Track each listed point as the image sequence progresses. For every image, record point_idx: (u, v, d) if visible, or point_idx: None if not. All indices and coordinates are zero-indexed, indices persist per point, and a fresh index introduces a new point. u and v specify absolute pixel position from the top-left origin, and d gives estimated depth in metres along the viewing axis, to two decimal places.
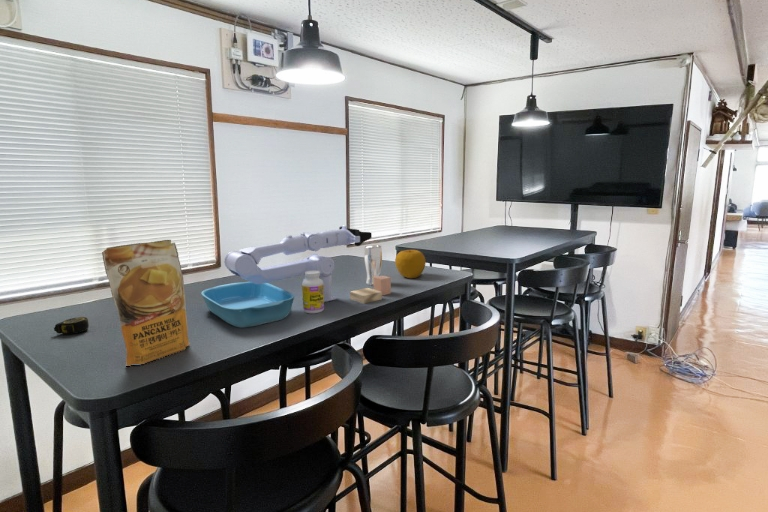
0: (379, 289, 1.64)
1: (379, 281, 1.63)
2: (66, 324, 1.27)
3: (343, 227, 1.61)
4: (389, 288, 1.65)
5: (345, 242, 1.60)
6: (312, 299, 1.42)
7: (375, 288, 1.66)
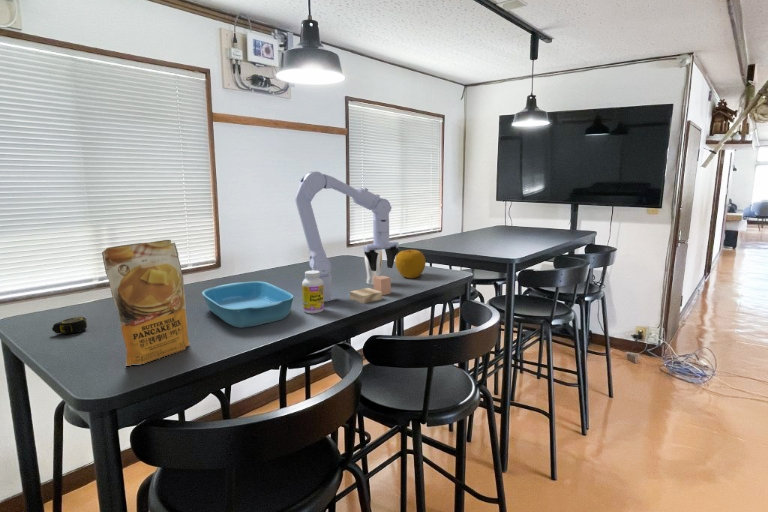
0: (379, 289, 1.64)
1: (379, 281, 1.63)
2: (64, 324, 1.27)
3: (387, 245, 1.61)
4: (389, 288, 1.65)
5: (373, 241, 1.63)
6: (312, 299, 1.42)
7: (375, 288, 1.66)
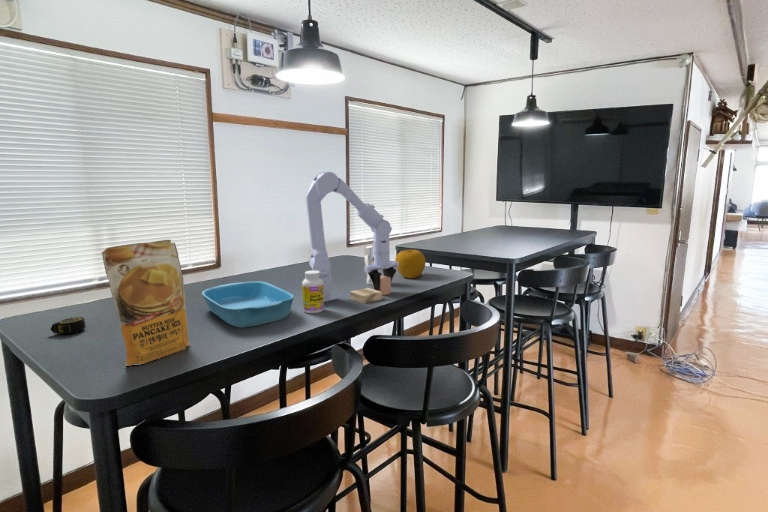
0: (379, 289, 1.64)
1: None
2: (63, 324, 1.27)
3: (387, 265, 1.62)
4: (389, 288, 1.65)
5: (374, 261, 1.64)
6: (312, 299, 1.42)
7: None
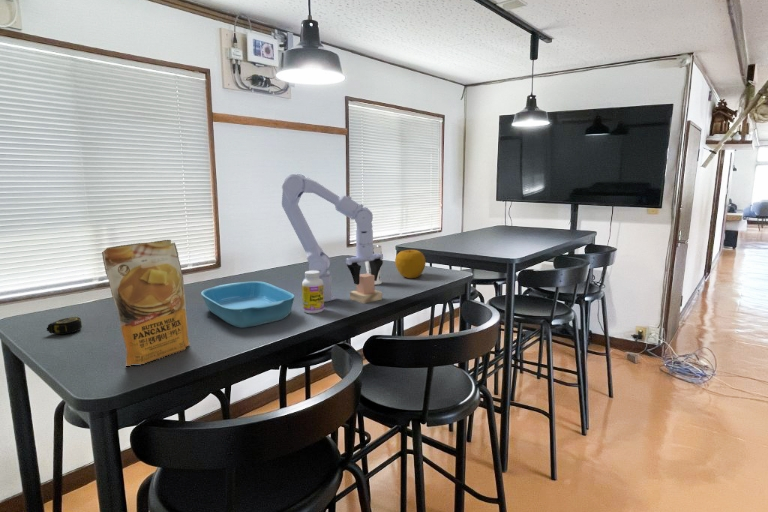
0: (362, 287, 1.56)
1: (361, 279, 1.56)
2: (59, 324, 1.27)
3: (371, 257, 1.54)
4: (373, 286, 1.58)
5: None
6: (312, 299, 1.42)
7: (358, 286, 1.58)
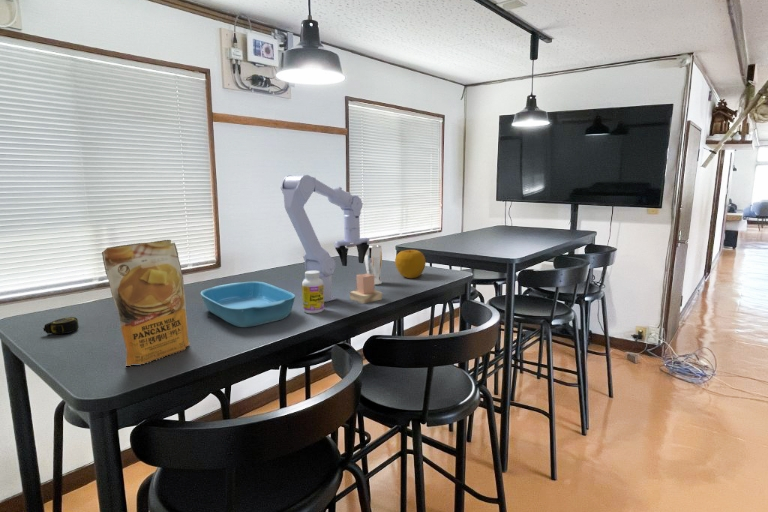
0: (361, 287, 1.56)
1: (361, 279, 1.56)
2: (55, 324, 1.27)
3: (357, 240, 1.66)
4: (372, 286, 1.58)
5: (344, 237, 1.68)
6: (312, 299, 1.42)
7: (358, 286, 1.58)
